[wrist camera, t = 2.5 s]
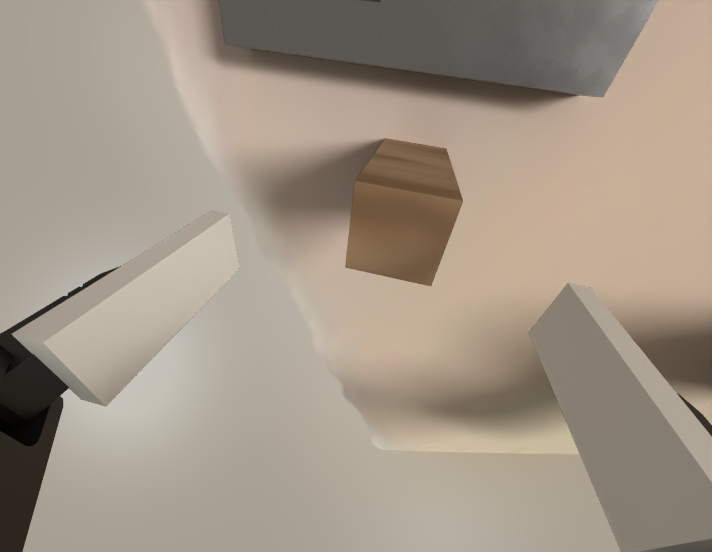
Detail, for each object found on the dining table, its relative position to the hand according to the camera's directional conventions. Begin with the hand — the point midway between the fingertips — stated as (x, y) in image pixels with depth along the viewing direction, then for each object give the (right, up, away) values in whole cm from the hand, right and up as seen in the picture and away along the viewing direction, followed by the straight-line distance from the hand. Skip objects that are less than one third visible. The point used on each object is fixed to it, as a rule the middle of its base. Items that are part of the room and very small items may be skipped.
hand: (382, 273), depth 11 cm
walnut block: (+4, +9, +12) cm, 16 cm away
